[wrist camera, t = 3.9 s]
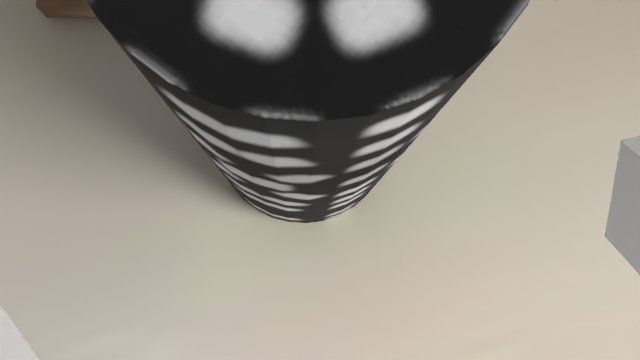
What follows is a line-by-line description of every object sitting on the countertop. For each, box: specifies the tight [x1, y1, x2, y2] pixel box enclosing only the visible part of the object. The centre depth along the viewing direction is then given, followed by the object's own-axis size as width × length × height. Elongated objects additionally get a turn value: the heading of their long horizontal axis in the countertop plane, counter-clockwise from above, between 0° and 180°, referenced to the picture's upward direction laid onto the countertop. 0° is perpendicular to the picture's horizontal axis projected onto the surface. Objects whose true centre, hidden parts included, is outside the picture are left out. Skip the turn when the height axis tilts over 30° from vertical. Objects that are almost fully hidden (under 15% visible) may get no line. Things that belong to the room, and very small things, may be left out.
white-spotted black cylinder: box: [87, 0, 530, 223], centre depth 20 cm, size 8×8×20 cm
